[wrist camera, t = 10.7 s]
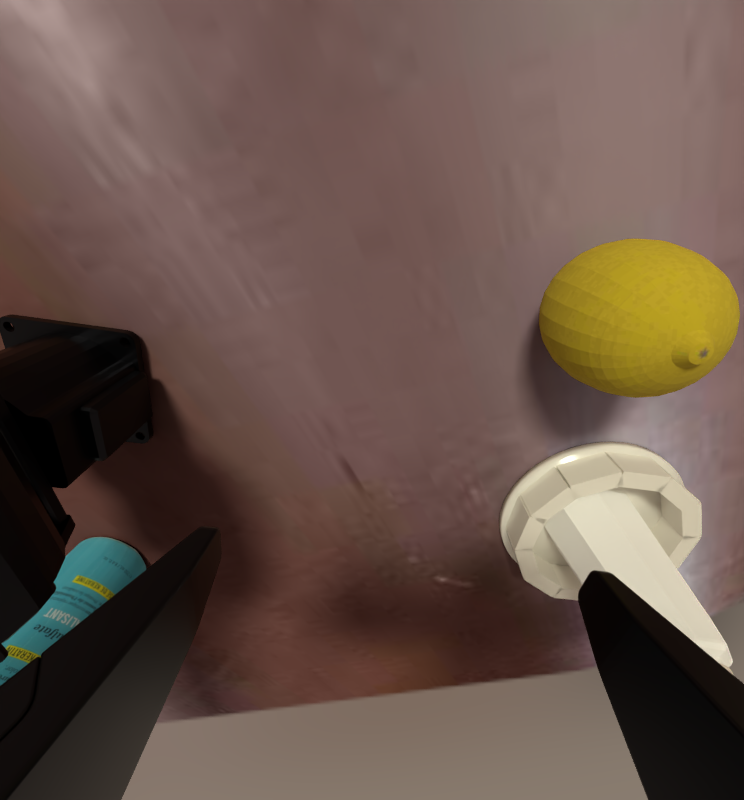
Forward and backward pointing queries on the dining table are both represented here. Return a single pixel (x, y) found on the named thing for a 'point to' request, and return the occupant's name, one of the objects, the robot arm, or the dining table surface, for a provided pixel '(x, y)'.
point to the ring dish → (584, 475)
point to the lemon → (639, 317)
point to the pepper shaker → (632, 563)
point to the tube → (73, 597)
